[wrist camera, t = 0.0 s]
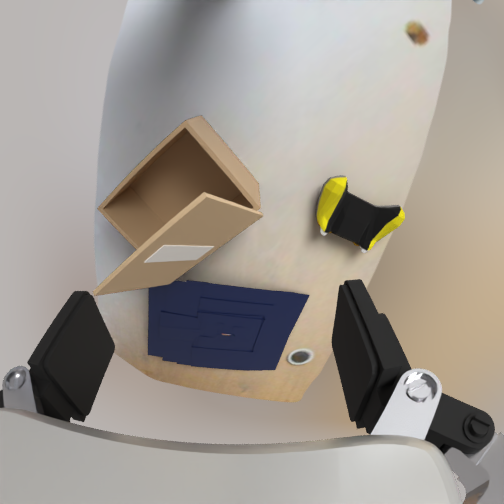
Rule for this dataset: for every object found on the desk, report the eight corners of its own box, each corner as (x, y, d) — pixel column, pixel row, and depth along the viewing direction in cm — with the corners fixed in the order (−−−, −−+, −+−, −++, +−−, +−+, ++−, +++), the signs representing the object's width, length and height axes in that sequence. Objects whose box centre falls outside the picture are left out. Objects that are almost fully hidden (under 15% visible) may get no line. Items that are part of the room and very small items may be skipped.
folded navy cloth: (151, 265, 52) (148, 276, 49) (306, 285, 58) (311, 296, 55) (149, 351, 63) (147, 362, 60) (272, 362, 70) (275, 373, 67)
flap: (92, 291, 28) (94, 296, 28) (203, 192, 23) (207, 198, 23) (168, 281, 41) (170, 284, 41) (261, 212, 36) (264, 216, 36)
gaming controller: (327, 164, 44) (300, 217, 49) (336, 173, 39) (305, 232, 44) (398, 202, 47) (371, 248, 52) (412, 214, 42) (381, 264, 47)
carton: (126, 184, 45) (97, 208, 36) (201, 115, 40) (185, 120, 31) (181, 242, 51) (165, 278, 41) (258, 183, 46) (260, 208, 36)
